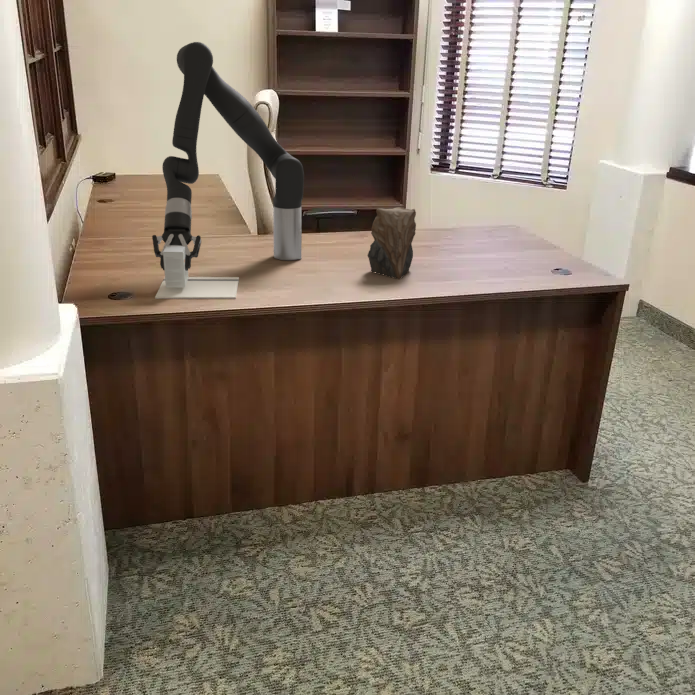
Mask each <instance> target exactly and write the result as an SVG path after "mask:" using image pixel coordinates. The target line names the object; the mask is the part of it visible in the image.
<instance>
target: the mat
mask: <svg viewBox="0 0 695 695" xmlns="http://www.w3.org/2000/svg"><path fill="white" fill-rule="evenodd" d="M239 281H240V277H239V276H188V281H187V283H186V286H185V287H166V284H165V277H164V278H163V280H162V282H161V283H160V286H159V287H158V290H157V293H156V294H155V296H154V298H155V299H156V300H157V299H159V300H160V299H162V300H163V299H172V300H173V299H174V300H175V299H176V300H177V299H178V300H179V299H182V300H183V299H190V300H192V299H193V300H194V299H197V300H198V299H208V300H209V299H214V300H215V299H218V300H219V299H225V300H226V299H228V300H229V299H233V300H234V299H237V293H238V286H239Z"/></svg>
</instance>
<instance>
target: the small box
mask: <svg viewBox="0 0 695 695" xmlns="http://www.w3.org/2000/svg"><path fill="white" fill-rule="evenodd" d="M185 250H186V249H185V247H183V246H181V245H169V246H166V247H165V249H164V251H163V259H164V270H163V271H164V278H165V284H166V287H185V286H186V283H187V281H188V277H189V270H188V271H186V270H185V256H186V252H185Z"/></svg>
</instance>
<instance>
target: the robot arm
mask: <svg viewBox="0 0 695 695" xmlns="http://www.w3.org/2000/svg"><path fill="white" fill-rule="evenodd" d="M176 63H177V64H176V65H177V68H178V69H179V71H180V72H181V73H182V74H183V86H182V92H181V93H182V94H181V97H180V101H179V105H178V107H177V111H176V114H175V119H174V124H173V125H174V127H173V134H172V142H171V143H172V146H173V147H174V148H176V149H178V150H180V151H183V152H184V153H185V154H186V155H187V158H183V157H178V156H172V155H169V156H167V157H165V159H164V160H163V161H162V173H163V175H162V176H163V178H164V181H165V185H166V186H165V187H166V205H165V211H164V226H163V233H162V234H161V235H156V234H153V235H152V236H151V239H152V246H153V252H154V255H155V257H156V258H159V259H160V262H159V263H160V264H159V265H160V268H161V269H162V271H164V259H163V251H164V249H165V247H166V246H169V245H181V246H183V247H185V249H186V250H185V252H186V256H185V270H186V271H188V272H189V270H190V269H191V267H192V266H191V265H192V259H194V258H198V257H199V253H200V249H201V247H202V246H201V245H202V237H201V236H200V235H196V236H194V235H192V219H193V218H192V217H193V216H192V215H193V214H192V212H193V211H192V197H193V194H192V193H193V192H192V189H191V187H190V186H189V184H190V185H191V184H195V183H196V182H197V180H198V178H199V175H200V174H199V173H200V171H199V170H200V169H199V163H198V156H197V153H198V152H197V144H198V137H199V136H198V134H199V128H200V122H201V121H200V120H201V119H200V118H201V114H202V107H203V101H204V97H205V96H206V98H207V99H208V101H209V102H210V103H211V105H212V106H213V107H214V108H215V110H216V111H217V112H218V114H219V115H220V116H221V117H222V118H223V119H224V121H225V122H226V123H227V124H228V126H229V127H230V128H231V129H232V131H233V132H234V133H235V134H236V135H237V136H238V137H239V138H240V139H241V140H242V141H243V142H244V144H246V145H247V146H248V147H249V148H251V149H252V151H254V152H255V153H256V154H257V155H258V157H259V158H260V159H261V161H262V163H263V164H264V165H265V166H266V167H267V169H268V170H269V172H270V174H271V175H272V177H273V178H274V180H275V190H274V191H275V192H274V193H275V194H274V195H273V196H274V197H273V199H272V200H273V201H272V202H273V204H272V206H273V207H272V208H273V209H272V210H273V211H272V213H273V215H272V216H273V257H274V259H276V260H281V261H296V260H302V237H303V236H302V201H303V198H304V186H305V184H304V183H305V172H304V167H303V164H302V162H301V161H300V160H299V159H298V158H296V157H294V156H293V155H291V154H290V153H288V151H286V149H285V148H283V146H282V145H281V144H280V143H279V142H278V141H277V139H275V138H274V136H273V135H272V133H271V131H270V129H269V128H268V125H267V123H266V122H265V121H264V119H263V118H262V117H261V115H260V114H259V112H258V111H257V110H256V109H255V107H254V106H253V105H252V104H251V102H249V100H248V99H247V98H246V97H244V95H242V93H240V92H239V91H237V90H236V89H235V88H233V87H232V86H231V85H230V84H229V83H227V82H226V81H225V80H224V79H223V78H222V77H221V76H220V74H219V73H218V72H217V71H216V70H215V68H214V66H213V63H214V55H213V53H212V51H211V49H210V48H209V47H208V46H207V44H205V43H203V42H201V41H193V42H190V43H188V44H186V45H184V46H182V47H181V48H179V50H178V52H177V54H176ZM187 184H188V185H187ZM162 241H163V243H164V245H163V247H162V250H160V247H159V245H161V242H162ZM191 242H193V249H192V250H191V251H190V248H189V247H188V246H189V244H190V243H191Z"/></svg>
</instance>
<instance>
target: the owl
mask: <svg viewBox="0 0 695 695" xmlns="http://www.w3.org/2000/svg"><path fill="white" fill-rule="evenodd" d="M375 210H376V211H375V212H376V216H375V218H374V220H373V221H372V226H371V236H372V237H373V242H372V243H371V244H370V245H369V246H370V248H369V250H368V253H367V258H368V262H369V266H370V272H371V271H372V272H371V273H373V272H376V273H375V274H377V273H380V274H384V275H383V276H385V275H387V276H386V277H388V276H390V277H389V278H392V277H394V279H398V280H401V279H402V278H403V277H404V276H405V275H406V274H407V271H408V272H409V271H410V268H411V266H412V262H413V257H414V250H413V245H412V243H413V240H414V238H415V236H416V228H417V223H416V221H415V217H416V214H417V212H416V209H415V208H413V209H409V208H405V207H400V206H398V207H394V208H381V207H380V208H376V209H375ZM405 273H406V274H405ZM380 274H379V275H380ZM403 275H404V276H403ZM402 276H403V277H402ZM401 277H402V278H401ZM400 278H401V279H400Z"/></svg>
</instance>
